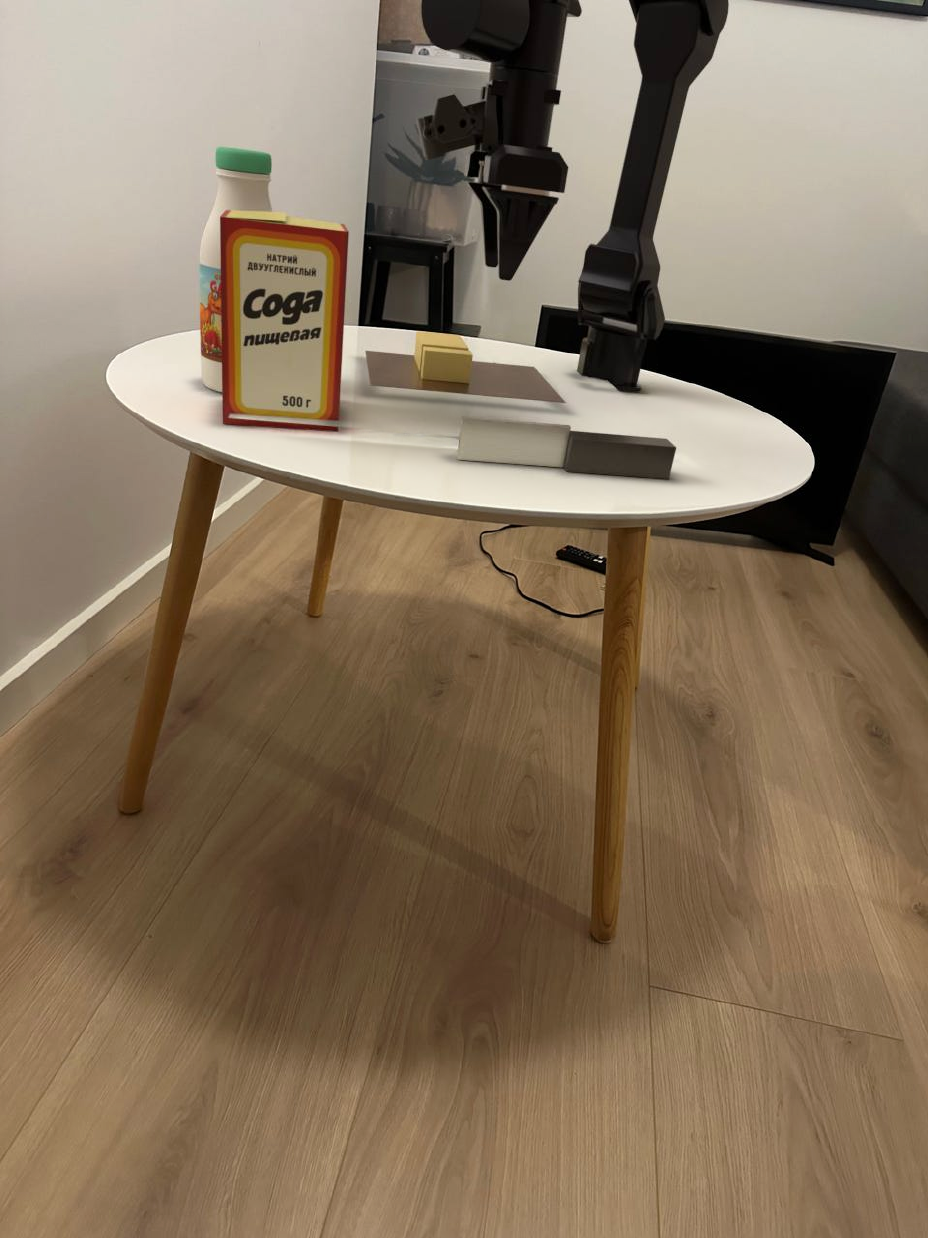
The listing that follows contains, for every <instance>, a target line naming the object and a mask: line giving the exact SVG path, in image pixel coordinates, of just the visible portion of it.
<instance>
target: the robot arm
mask: <svg viewBox="0 0 928 1238" xmlns="http://www.w3.org/2000/svg"><path fill="white" fill-rule="evenodd" d="M628 3H629V5H630V8H631V9H630V10H631V12H632V15H633V17H634V21H635V31H634V38H633V48H634V52H635V54H636V59H637V63H638V66H639V67H638V68H639V70H640V74H641V81H640V86H639V90H638V94H637V99H636V104H635V108H634V113H633V118H632V123H631V127H630V132H629V136H628V141H627V145H626V150H625V154H624V158H623V163H622V168H621V173H620V177H619V182H618V186H617V190H616V195H615V198H614V199H615V200H614V203H613V204H614V205H613V209H612V213H611V219H610V223H609V227H608V230H607V231H606V233H605V234H604V235H603V236H602V237H601V239H600V240H599V241H598V242H597V243H596V244H595V243H590V244H589V245H588V246H587V248H586V250H585V252H584V259H583V266H582V269H581V273H580V275H579V278H578V281H577V283H578V287H577V323H578V325H580V326H587V327H588V331H587V336H586V337H584V338H583V339H582V340H581V345H580V350H579V357H578V361H577V362H578V363H577V368H576V372H577V373H578V374H579V375H580V376H582V377H587V378H594V379H597V380H602V381H606V382H608V383H609V384H610V385H612V386H613V387H614V388H615V390H619V391H631V392H642V386H641V385H640V384H638V382H639V378H640V372H641V369H642V364H643V359H644V354H645V350H646V345H647V341H648V340H657V339H658V338H659V337H660V334H661V332H662V330H663V327H664V324H665V321H666V317H665V312H664V307H663V304H662V299H661V294H660V290H659V285H658V284H659V278H660V273H661V263H660V260H659V255H658V253H657V249H656V246H655V242H654V234H655V231H656V227H657V223H658V218H659V214H660V210H661V205H662V202H663V197H664V193H665V189H666V185H667V181H668V176H669V172H670V168H671V164H672V159H673V155H674V151H675V147H676V143H677V139H678V134H679V130H680V126H681V123H682V118H683V113H684V110H685V105H686V101H687V97H688V93H689V90H690V87H691V85H693V83H694V82H695V80H696V79H697V78H698V77H699V76H700V74H701V73H702V72H703V71H704V69H705V68H706V67H707V66H708V65H709V63H710V62H711V61H712V59H713V57H714V55H715V51H716V48H717V45H718V41H719V38H720V35H721V33H722V32H723V31H724V28H725V26H726V23H727V19H728V15H729V7H730V6H729V5H730V4H729V3H730V2H729V0H628ZM420 8H421V12H420V13H421V20H422V26H423V29H424V32H425V34H426V36H427V38H428V39H429V41H430V42H431V43H432V45H434V46H435V47H436V48H438V49H440V50H442V51H447V52H451V53H454V54H457V55H461V56H464V57H467V58H471V59H475V60H478V61H482V62H485V63H490V64H489V65H490V66H489V73H488V80H487V82H485V83H484V85H483V86H481V87H480V92H479V93H480V94H479V101H478V102H475V103H470V104H466V105H463V104H462V102H461V101H460V99H458V97H457V95H456V94H455V93H454V94H451V95H450V94H449V95H445V96H442V97H438V98H435V102H434V107H433V111H432V114H428V115H425V116H421V117H418V118H416V119H415V122H416V128H417V132H418V137H419V142H420V146H421V150H422V155H423V159H424V160H425V161H430V160H434V159H439V158H441V157H444V156H445V154H447V153H450V152H454V151H458V150H461V149H465V148H469V147H473V148H472V149H470V151H469V152H468V153H466V155H465V162H464V173H463V176H464V177H467V178H475V179H474V181H469V180H466V181H465V183H466V186H467V187H468V188H469V189H470V191H471V192H472V194H473V195H474V197H475V198H476V199H477V201H478V202H479V205H480V214H481V227H482V240H483V241H482V242H483V254H484V265H485V266H486V267H487V268H494V269H495V268H497V271H498V278H499V280H502V281H507V282H509V281H512V279H513V278H514V276H515V275H516V273H517V271H518V270H519V267H520V266H521V264H522V262H523V261H524V259H525V257H526V255H527V253H528V252H529V250H530V248H531V246H532V245H533V243H534V241H535V239H536V238H537V236H538V235H539V232H540V231H541V229H542V227H543V226H544V224H545V222H546V221H547V219H548V218H549V216H550V214H551V212H552V211H553V209H554V207H555V206H556V205H557V204H558V203H559V200H560V198H559V196H554V195H550V192H552V193H559V194H565V191H566V186H567V179H568V173H569V165H568V164H567V162H566V161H565V159H564V158H563V156H562V154H561V153H560V152H558V151H553V147H551V146H549V141H550V135H551V128H552V121H553V115H554V107H555V106H559V105H560V100H561V94H562V90H560V89H558V80H559V75H560V67H561V63H562V62H561V60H562V55H563V47H564V41H565V34H566V28H567V27H566V26H567V21H568V18H580V16H581V15H582V11H583V10H582V6H581V3H580V0H421V4H420Z"/></svg>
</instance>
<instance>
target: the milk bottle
mask: <svg viewBox="0 0 928 1238" xmlns="http://www.w3.org/2000/svg"><path fill="white" fill-rule="evenodd" d="M214 157H215V166H216V172H215V175H216V176H217V177H218V188H217V193H216V199H215V202H214V205H213V207H212V211H211V213H210V215H209V217H208V220H207V222H206V225H205V228H204V229H203V234H202V236H201V241H200V247H199V249H200V250H199V268H198V269H199V275H198V277H199V278H198V279H199V280H198V281H199V329H200V330H199V332H200V334H199V335H200V336H199V337H200V371H201V380H202V382H203V384H204V386H206V387H207V388H209V389H210V390H213V391H216V392H219V393H222V330H221V252H220V216H221V215H222V214H223V213H224V212H225V211H226V210H236V211H262V212H274V211H273V208H272V207H273V206H272V204H271V203H272V202H271V200H270V199H271V198H270V192H269V183H270V182H272V178H271V174H272V166H273V165H272V155H271V154H270V153H268V152H264V151H259V150H252V149H243V148H238V147H237V148H236V147H228V146H218V147H216V149H215V156H214Z"/></svg>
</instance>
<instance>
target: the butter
mask: <svg viewBox="0 0 928 1238" xmlns="http://www.w3.org/2000/svg"><path fill="white" fill-rule="evenodd" d="M414 344H415V345H414V354H413V355H414V358H415V361H416V364H417V366H418V369H419V372H421V366H422V355H423V347H434V348H444V349H454V350H464V351H469V347H468V345H467V344H466V342H465V341H464V339H463V338H462V336H461V335H459V334H452V333H443V332H442V333H441V332H433V331H432V332H431V331H422V330H416V332H415V343H414Z"/></svg>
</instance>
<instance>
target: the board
mask: <svg viewBox="0 0 928 1238" xmlns="http://www.w3.org/2000/svg"><path fill="white" fill-rule="evenodd" d="M365 358H366V364H367V372H368V377H369V379H368V380H369V384H370V386H372V387H381V388H382V387H383V388H393V389H394V388H395V389H403V390H417V391H426V392H438V393H447V394H448V393H449V394H458V395H459V394H460V395H471V396H472V395H473V396H481V397H494V398H506V399H517V400H529V401H539V402H548V403H549V402H550V403H561V404H566V403H567V402H566V401H565V400H564V399H563V398H562V397H561V395H560V394H559V393H558V392H557V390H556V389H555V388H554V387H553V386H552V385H551V384H550V383H549V382H548V380H547V379H546V378H545V377H544V376H543V374H541V373H540V371H539V370H538V369H537V368H536V367H535V366H530V365H517V364H510V363H509V364H508V363H500V362H499V363H498V362H488V361H477V360H472V365H471V373H470V381H469V384H467V383H456V382H445V381H434V380H424V379H422V377H421V372H419V369H418V366H417V364H416V361H415V358H414V354H406V353H405V354H404V353H394V352H384V351H383V352H382V351H374V350H365Z"/></svg>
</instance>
